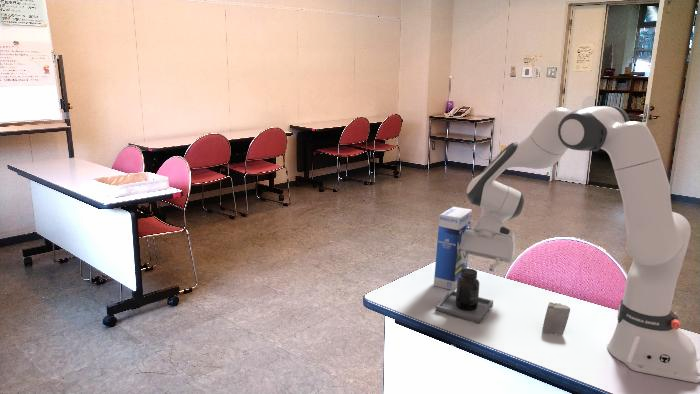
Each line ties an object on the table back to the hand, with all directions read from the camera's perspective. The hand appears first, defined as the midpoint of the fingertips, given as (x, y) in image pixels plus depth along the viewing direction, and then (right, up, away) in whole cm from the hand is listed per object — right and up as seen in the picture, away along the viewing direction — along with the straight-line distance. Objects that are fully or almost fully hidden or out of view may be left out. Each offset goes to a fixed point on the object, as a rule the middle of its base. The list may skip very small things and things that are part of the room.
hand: (477, 267), depth 170 cm
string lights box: (-6, -7, +14) cm, 17 cm away
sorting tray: (-5, -12, -6) cm, 15 cm away
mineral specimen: (+18, -16, -17) cm, 29 cm away
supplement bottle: (-5, -12, -6) cm, 14 cm away
